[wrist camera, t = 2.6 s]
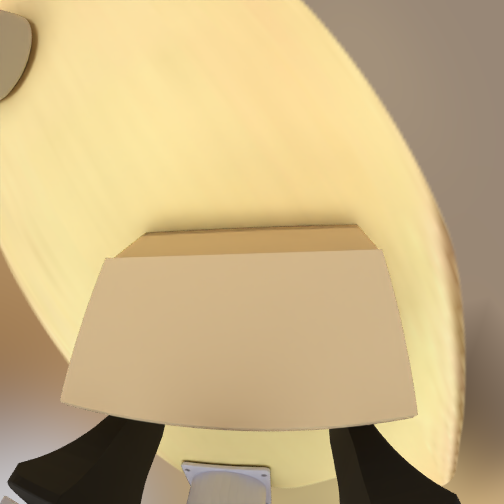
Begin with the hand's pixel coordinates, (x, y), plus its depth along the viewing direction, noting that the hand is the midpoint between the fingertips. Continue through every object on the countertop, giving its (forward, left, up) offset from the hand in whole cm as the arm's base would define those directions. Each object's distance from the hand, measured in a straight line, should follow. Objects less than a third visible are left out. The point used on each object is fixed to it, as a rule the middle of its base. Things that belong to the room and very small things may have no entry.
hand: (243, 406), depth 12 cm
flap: (+4, 0, +1) cm, 4 cm away
